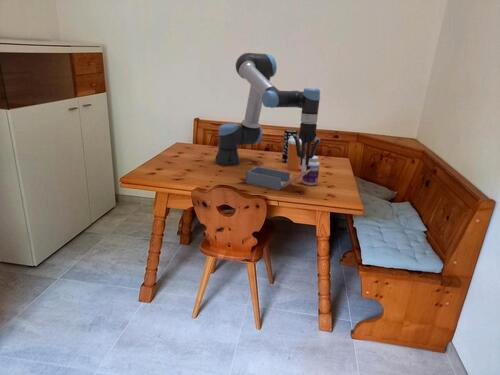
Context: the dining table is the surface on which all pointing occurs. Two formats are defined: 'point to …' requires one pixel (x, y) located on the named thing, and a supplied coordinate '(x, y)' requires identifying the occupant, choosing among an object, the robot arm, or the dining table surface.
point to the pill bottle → (312, 172)
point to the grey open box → (267, 177)
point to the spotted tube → (285, 144)
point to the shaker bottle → (293, 154)
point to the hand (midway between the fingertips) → (303, 171)
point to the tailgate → (295, 178)
